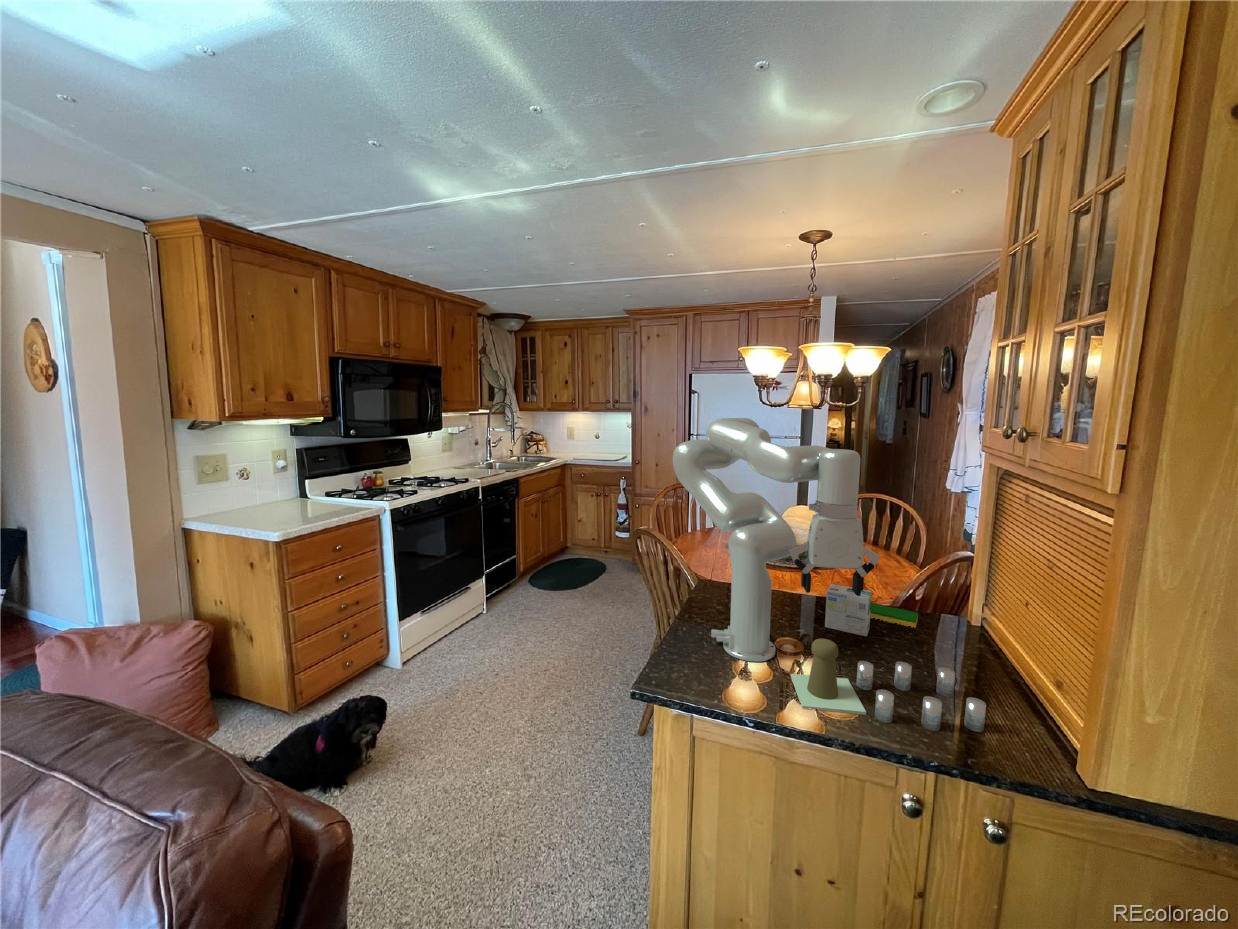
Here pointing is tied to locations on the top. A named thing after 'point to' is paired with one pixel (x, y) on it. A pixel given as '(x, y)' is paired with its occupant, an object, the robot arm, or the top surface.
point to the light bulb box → (848, 610)
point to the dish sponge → (894, 615)
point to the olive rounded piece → (823, 670)
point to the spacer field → (930, 704)
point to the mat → (843, 702)
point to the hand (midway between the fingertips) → (831, 592)
